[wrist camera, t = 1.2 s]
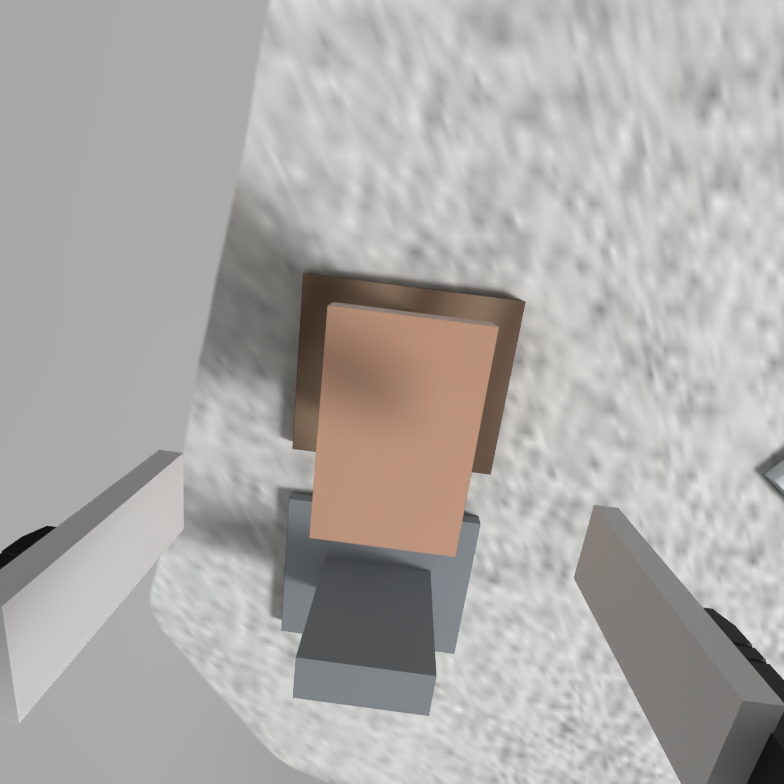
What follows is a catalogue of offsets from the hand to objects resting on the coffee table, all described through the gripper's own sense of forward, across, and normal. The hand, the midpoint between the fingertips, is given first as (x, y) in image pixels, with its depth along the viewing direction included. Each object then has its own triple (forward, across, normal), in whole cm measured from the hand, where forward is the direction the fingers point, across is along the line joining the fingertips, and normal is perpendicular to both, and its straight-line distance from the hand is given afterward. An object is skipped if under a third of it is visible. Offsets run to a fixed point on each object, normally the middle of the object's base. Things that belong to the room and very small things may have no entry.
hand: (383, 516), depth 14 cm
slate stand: (+17, 0, -16) cm, 23 cm away
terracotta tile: (+7, 0, 0) cm, 7 cm away
